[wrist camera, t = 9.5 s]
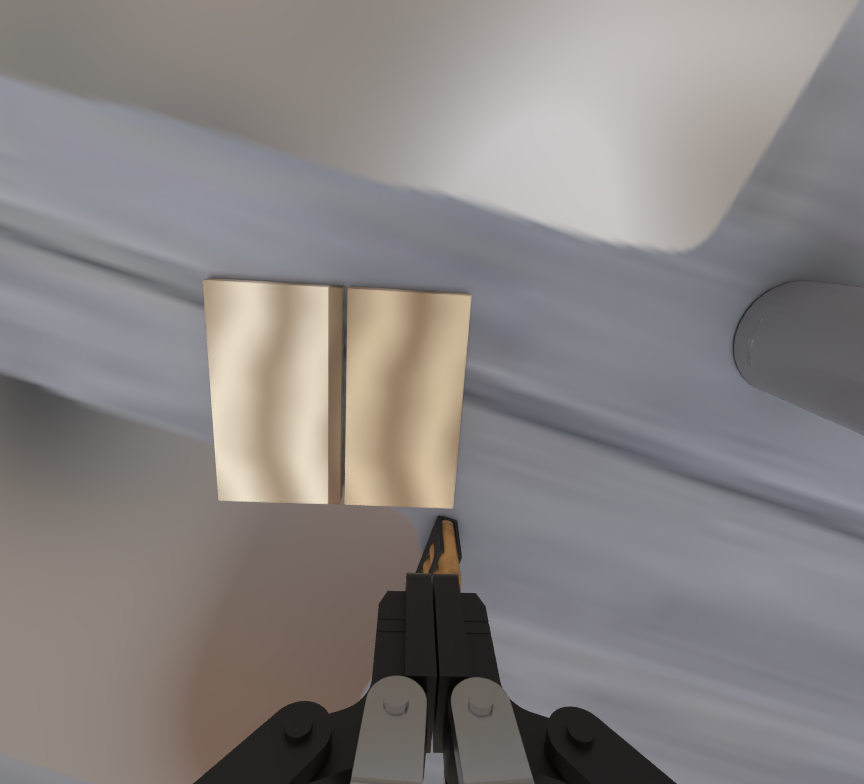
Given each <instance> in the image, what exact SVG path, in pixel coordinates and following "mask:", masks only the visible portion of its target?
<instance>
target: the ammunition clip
mask: <svg viewBox="0 0 864 784" xmlns="http://www.w3.org/2000/svg"><path fill="white" fill-rule="evenodd" d="M461 559H462V554H461V546H460V539H459V531H458V523H457V521H456V520H452V519H448V518H445V517H441V516H438V517H437V520H436V522H435V525H434V527H433V530H432V532H431V535H430V538H429V540H428V543H427V545H426V548H425V550H424V553H423V555H422V558H421V560H420V563H419V566H418V568H417V571H416V573H431V577H432V576H433V573H436V574H458V578H459V585H460V589H461V574H460V566H459V563H460V561H461ZM460 593H461V590H460Z"/></svg>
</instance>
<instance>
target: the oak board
mask: <svg viewBox="0 0 864 784" xmlns="http://www.w3.org/2000/svg"><path fill="white" fill-rule="evenodd" d="M470 307H471V295H470V294H467V293H450V292H434V291H418V290H401V289H385V288H368V287H352V286H350V287H349V288H348V295H347V372H346V449H345V505H346V504H347V505H372V506H398V507H425V508H451V509H453V504H454V492H455V481H456V469H457V458H458V446H459V435H460V423H461V411H462V400H463V388H464V377H465V365H466V353H467V342H468V330H469V319H470Z"/></svg>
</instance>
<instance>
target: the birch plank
mask: <svg viewBox="0 0 864 784" xmlns="http://www.w3.org/2000/svg"><path fill="white" fill-rule="evenodd" d="M344 289H345V286H335V285H318V284H302V283H285V282H268V281H251V280H234V279H218V278H209V279H204V280H203V291H204V305H205V319H206V333H207V347H208V361H209V374H210V388H211V402H212V416H213V430H214V444H215V457H216V471H217V486H218V499H219V501H246V502H247V501H248V502H279V503H281V502H282V503H313V504H340V502H341V498H342V468H343V378H344Z"/></svg>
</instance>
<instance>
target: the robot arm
mask: <svg viewBox="0 0 864 784" xmlns="http://www.w3.org/2000/svg"><path fill="white" fill-rule="evenodd" d="M734 357H735V361H736V364H737V368H738V370H739V371H740V373H741V374H742V376H743V377H744V378H745V379H746V380H747V381H748V382H749V383H750V384H751V385H753V386H755V387H757V388H758V389H760V390H763V391H765V392H767V393H770V394H772V395H774V396H776V397H779V398H781V399H783V400H785V401H788V402H790V403H792V404H794V405H796V406H798V407H801V408H803V409H805V410H808V411H810V412H812V413H814V414H817V415H819V416H821V417H823V418H826V419H828V420H830V421H833V422H835V423H837V424H839V425H842V426H844V427H846V428H849V429H851V430H853V431H855V432H858V433H860V434H862V435H864V288H863V287H855V286H848V285H839V284H830V283H821V282H811V281H795V282H789V283H786V284H783V285H780V286H777V287H775V288H773V289H772V290H770V291H768V292H767V293H765V294H764V295H763V296H761V297H760V298H759V299H758V300H757V301H755V302H754V303H753V305H752V306H751V307H750V308H749V309H748V311H747V312H746V313H745V315H744V317H743V319H742V320H741V322H740V324H739V327H738V330H737V332H736V335H735V342H734ZM432 735H433V753H443V759H444V776H443V784H676V783H675V782H674V781H673V780H672V779H670V778H669V777H668V776H667V775H666V774H664V773H663V772H662V771H661V770H660V769H658V768H657V767H656V766H655V765H654V764H652V763H651V762H650V761H649V760H648V759H646V758H645V757H644V756H643V755H642V754H640V753H639V752H638V751H637V750H636V749H634V748H633V747H632V746H631V745H630V744H628V743H627V742H626V741H625V740H624V739H622V738H621V737H620V736H619V735H618V734H617V733H615V732H614V731H613V730H612V729H611V728H609V727H608V726H607V725H606V724H605V723H603V722H602V721H601V720H600V719H599V718H597V717H596V716H595V715H593V714H592V713H590V712H588V711H586V710H584V709H581V708H577V707H563V708H560V709H557V710H556V711H555V712H553V713H552V715H551V716H550V718H547V717H544V716H541V715H538V714H535V713H532V712H529V711H527V710H525V709H523V708H521V707H519V706H518V705H516V704H515V703H514V702H513V701H512V700H510V698H509V697H508V695H507V693H506V692H505V691H504V689H503V688H502V686H501V682H500V678H499V673H498V668H497V663H496V658H495V653H494V647H493V642H492V637H491V632H490V627H489V624H488V617H487V612H486V606H485V605H484V604H483V602H482V601H481V600H480V598H479V597H478V596H477V594H476V593H460V585H459V578H458V574H436V573H433V576H432V577H431V573H407V574H406V590H405V591H387V593H386V594H385V596H384V597H383V599H382V600H381V602H380V603H379V610H378V621H377V633H376V642H375V653H374V663H373V674H372V682H371V685H370V688H369V690H368V692H367V693H366V694H365V696H364V697H363V698H362V699H361V700H360V701H359V702H357V703H356V704H354V705H353V706H351V707H349V708H346V709H343V710H340V711H337V712H333V713H330V714H329V713H328V712H327V710H326V709H325V708H324V707H322V706H321V705H319V704H317V703H315V702H310V701H300V702H295V703H292V704H289V705H287V706H285V707H283V708H282V709H281V710H279V711H278V712H277V713H275V714H274V715H273V716H272V717H271V718H270V719H268V720H267V721H266V722H265V723H264V724H263V725H261V726H260V727H259V728H258V729H257V730H255V731H254V732H253V733H252V734H251V735H250V736H249V737H247V738H246V739H245V740H244V741H243V742H241V744H239V745H238V746H237V747H236V748H234V749H233V750H232V751H231V752H230V753H229V754H227V755H226V756H225V757H224V758H223V759H222V760H220V761H219V762H218V763H217V764H216V765H215V766H214V767H212V768H211V769H210V770H209V771H208V772H206V773H205V774H204V775H203V776H202V777H201V778H199V779H198V780H197V781H196V782H195V783H193V784H422V782H423V778H424V768H425V756H426V753H430V751H431V740H432Z"/></svg>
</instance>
